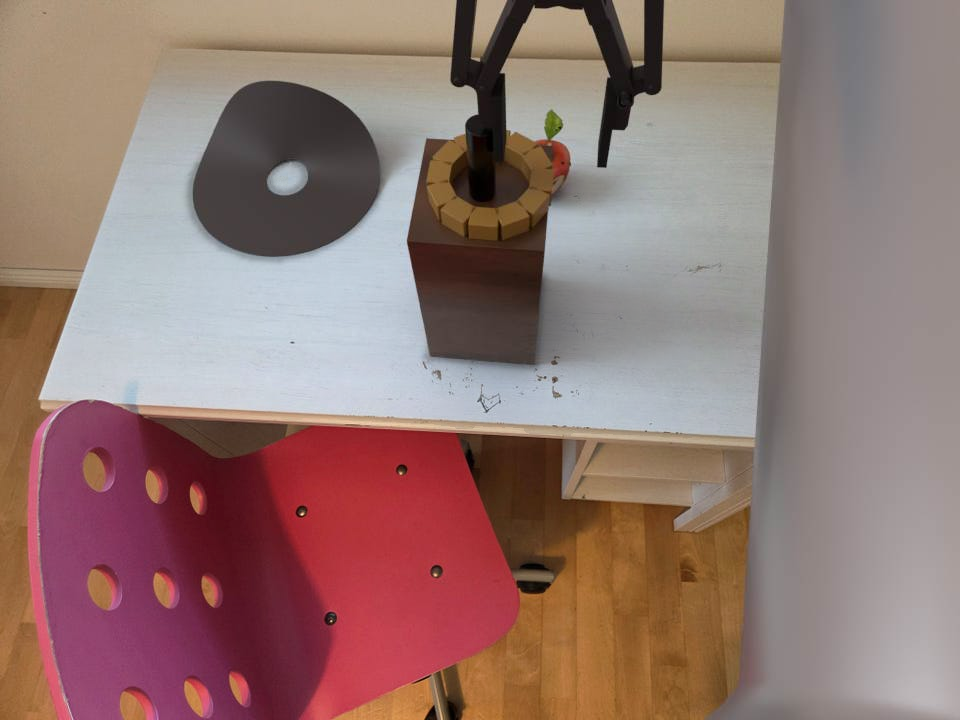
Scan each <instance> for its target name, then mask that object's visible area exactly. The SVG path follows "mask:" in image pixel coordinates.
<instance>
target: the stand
mask: <svg viewBox="0 0 960 720" xmlns="http://www.w3.org/2000/svg"><path fill="white" fill-rule="evenodd" d="M449 140H451V141H452V142H454V139H447V138H446V139H444V138H429V137H426V138H425V143H424V148H423V152H422V158H421V163H420V169H419V173H418V180H417V185H416V191H415V194H414V195H415V196H414V201H413V206H412V211H411V216H410V221H409V226H408V232H407V237H406V245H407V250H408V255H409V260H410V265H411V269H412V270H411V271H412V275H413V280H414V285H415V289H416V294H417V298H418V305H419V309H420V315H421V319H422V324H423V328H424V334H425V339H426V344H427V348H428V349H427V350H428V354H429V357H435V358H447V359H457V360H458V359H459V360H472V361H482V362H494V363H505V364H506V363H507V364H516V365H517V364H518V365H529V366H530V365H531V366H534V365H535V358H536V349H537V338H538V328H539V327H538V326H539V318H540V317H539V316H540V306H541V295H542V285H543V284H542V283H543V275H544V266H545V265H544V264H545V252H546V243H547V242H546V241H547V229H548V215H549V210H548V211H547V212H546V213H545V215H544V216H543V217H542V218H541V219H540V220H539V221H538V223H537V224H536V225H535V226H534V227H533V228H532V227H530V226H529V231H527V232H524V233H522V234H519V235H516V236H513V237H511V238H508V239H505V240H502V238H501V236H500V234H499V236H498V241H492V240H480V239H470V238H469V233H468V234H467V235H466V236H465V237H463V236H462V235H460V234H458V233H457V232H455V231H453V230H452V229H450V228H448V227H447V226H445V225H443V224H442V220H438V218H437V216H436V214H435V212H434V210H433V208H432V206H431V204H430V202H429V197H428V191H427V184H426V180H427V175H428V170H429V165H430V161H431V160H432V161H433V156H434V155H435V154H436V153H437V152H438V151H439V150H440V149H441V148H442V147H443V146H444V145H445V144H446V143H447V142H448V141H449ZM540 146H541V147H542V149H543V150H544V152H545V153H546V155H547V157H548V158H549V160H550V161H551V163H552V156H553V146H544V145H537V147H540ZM529 185H530V184H529V182H528V180H527V179H526V177H525V175H524V174H523V172H522V171H521V170H520V169H518V168H516V167H514V166H512V165H510V164H509V163H507V162H505V161H503V162H496V193H495V195H494V197H493V198H492V199H491V200H489V201H486V202H479V201H476V200H474V199H473V198H472V197H471V196H470V194H469V181H468V166H466V167H465V168H464V169H463V170H462V171H461V172H460V173H459V174H458V175H457V176H456V177H455V178H454V179H453V185H452V188H453V190H454V191H455V193H456V195H457V197H459V198H461V199H462V200H464V201H466V202H468V203H469V204H471V205H473V206H475V207H485V208H499V207H501V206H504V205H507V204H510V203H512V202H515V201H517V200H518V199H519V198H520V197H521V196H522V195H523V194H524V193H525V191H526V190H527V189H528V188H529Z"/></svg>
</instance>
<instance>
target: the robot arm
mask: <svg viewBox="0 0 960 720" xmlns="http://www.w3.org/2000/svg"><path fill="white" fill-rule="evenodd" d="M783 4H784V5H783V18H782V19H783V20H782V32H781V46H780V47H781V48H780V61H779V62H780V63H779V77H778V93H777V107H776V121H775V137H774V152H773V169H772V179H771V180H772V181H771V195H770V197H771V198H770V210H769V226H768V239H767V241H768V242H767V253H766V254H767V255H766V270H765V285H764V298H763V299H764V300H763V301H764V303H763V315H762V330H761V344H760V361H759V372H758V373H759V374H758V388H757V391H758V392H757V402H756V418H755V419H756V420H755V433H754V448H753V461H752V463H753V464H752V475H751V476H752V478H751V479H752V480H751V492H750V507H749V521H748V522H749V524H748V535H747V537H748V538H747V550H746V551H747V552H746V554H747V555H746V565H745V567H746V569H745V582H744V596H743V597H744V598H743V612H742V614H743V615H742V625H741V627H742V628H741V639H740V640H741V641H740V656H739V657H740V658H739V671H738V683H737V685H736V686H735V687H734V688H733V690H732V692H731V693H730V694H729V696H727V698H726V700H725V701H724V702H723V703H722V704H721V705H720V706H718V707H717V708H716V709H715V710H714V711H713V712H711V713H710V714H709V715H708V716H707V717H705V718H704V719H703V720H960V0H784V3H783ZM477 6H478V0H456V2H455V15H454V29H453V41H452V52H451V64H450V78H449V80H450V84H451V85H452V86H453V87H455V88H464V87H465V86H467V87H470V88H472V89H473V90H474V91H475V94H476V103H477V114H478V119H479V121H480V122H481V124H490V125H492V126H493V147H494V162H503V161H504V154H505V146H506V139H507V134H506V130H507V97H506V96H507V95H506V94H507V93H506V72H502V70H503V68H504V65H505V63H506V61H507V59H508V58H509V56H510V53H511V51H512V48H513V47H514V44H515V43H516V41H517V38H518V36H519V34H520V32H521V30H522V28H523V27H524V24H526V23H527V22H528V20H529V17H530V15H531V13H532V11H533V8H534V9H539V10H541V9H542V10H546V9H551V8H556V7H557V8H558V7H560V8H564V9H568V10H571V11H572V10H573V11H575V10H576V11H583V12H584V14H585V17H586V20H587V23H588V25H589V26H590V27H591V28H592V30H593V33H594V34H593V35H594V37H595V38H596V42H597V45H598V47H599V50H600V53H601V56H602V58H603V62H604V64H605V66H606V70H607V72H608V73H607V74H608V75H609V77H608V76H607V77H606V84H605V91H604V99H603V104H602V105H603V106H602V113H601V121H600V127H599V135H598V143H597V160H596V168H599V169H607V166H608V162H609V161H608V160H609V154H610V148H611V141H612V135H613V131H625V130H626V129H627V128H628V126H629V122H630V115H631V111H632V107H633V106H634V104H635V97H636V96H638V95H640V94H644V93H645V94H646V95H648V96H656V95H658V94H659V93H660V92H661V91H662V85H663V50H664V22H665V21H664V20H665V17H664V16H665V15H664V13H665V0H643V64H641V65H638V66H634V62H633V61H632V60H633V59H632V57H631V54H630V51H629V48H628V45H627V42H626V41H627V40H626V38H625V35H624V32H623V29H622V26H621V23H620V20H619V17H618V14H617V10H616V7H615V4H614V0H506V2H505V4H504V6H503V9H502V11H501V13H500V16H499V17H498V20H497V22H496V24H495V27H494V28H493V32H492V34H491V36H490V39H489V40H488V43H487V45H486V47H485V50H484V52H483V55H482V56H480V58H479V60H476V59H473V58H472V52H473V45H474V44H473V42H474V33H475V24H476V15H477Z"/></svg>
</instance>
